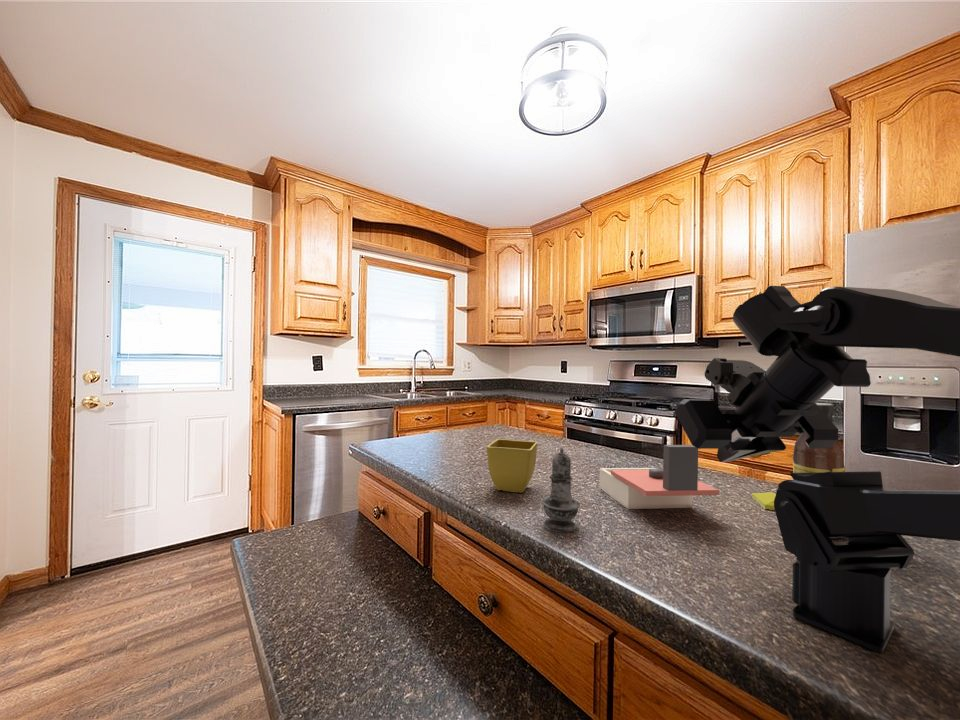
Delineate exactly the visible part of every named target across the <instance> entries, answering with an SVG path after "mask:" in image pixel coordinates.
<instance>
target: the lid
mask: <svg viewBox="0 0 960 720" xmlns="http://www.w3.org/2000/svg"><path fill="white" fill-rule="evenodd" d="M662 459H663V465H662V469H661V468H660V469H659V468H656V469H649V470H611V475H612V476H614V477H616V478H617V479H619V480H621V481H622V482H624V483H626V484H627V485H629V486H630V487H632V488H634V489H635V490H637V491H639V492H640V493H642V494H643V495H645V496H687V495H692V496H720V489H718V488H715V487H713V486H711V485H709V484H706V483H704V482H702V481H700V480H699V479H698V478H699V477H698V476H699V449H698V448H696V447H695V446H693V445H692V444H663V458H662Z"/></svg>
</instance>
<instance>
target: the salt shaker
mask: <svg viewBox="0 0 960 720" xmlns="http://www.w3.org/2000/svg"><path fill="white" fill-rule="evenodd" d="M564 451H565V450H564V449H563V447H561V448H560V449H559V452H558V453H557V454H554V455H553V456H552V459H551V460H552V468H551V469H552V470H551V471H552V472H551V473H552V474H551V475H549V479H550V480H551V489H550V490H551V491H550V493H549V496H546V497H544V498H543V499H541V504H542V506H543V509H544V514H545V515H546V516H547V517H548V518H547V519H545V520H544V521H542V522H543V523H542V525H543V527H544V528H545V529H546V530H548V531H551V532H555V533H562V534H564V533H565V534H566V533H567V534H568V533H573V532H575V531H577V530H578V528H579V526H578V524H577V523H576V522H575V521H573V520H574V518H576V516H577V515H578V512H579V508H580V507H581V502H580V501H579V500H577V499H575V498H573V494H572V491H571V490H572V487H571V485H572V481H574V478H573V477H572V476H571V467H572V466H571V465H572V464H571V463H572V462H571V461H572V460H571V457H570V456H569V455H568V454H566V453H565V452H564Z"/></svg>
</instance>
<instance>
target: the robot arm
mask: <svg viewBox="0 0 960 720" xmlns="http://www.w3.org/2000/svg"><path fill="white" fill-rule="evenodd" d="M732 321H733V323H734V325H735V326H736V327H737V328H738V329H739V331H740V332H741V333H742V335H744V337H745V338H746V339H747V340H748V341H749V343H750V344H751V345H752V347H753V348H754V349H755V350H756V351H757V352H758V353H759V354H760V355H762V356H765V357H773V356H774V357H776V358H775V360H774V361H773V362H772V363H771V364H770V366H769V367H768V368H767V369H766V370H765V369H763V368H762V367H760V366H758V365H756V364H755V363H754V362H751V361H747V360H744V359H743V360H742V359H727V358H725V357H723V358H722V357H713V359H712V360H711V361H710V362H709V363H708V364H707V366H706V368H705V370H704V378H705V379H706V380H707V381H709V382H710V383H711V384H712V385H714V386H719V387H720V388H722V389H723V390H725V391H726V392H728V393H729V394H728V395H727V396H726V399H727V401H728V402H729V404H730V405H731V406H735V409H720V408H719V406H718V405H717V403H716V402H715V400H712V399H698V398H696V399H686V398H685V399H682V400H681V402H680V403H679V404H678V406H677V407H676V409H674V414H675V416H676V417H677V419H678V422H679V423H680V425H681V427H682V429H683V431H684V433H685V435H686V436H687V438H688V440H689V443H690V445H693V446H695V447H696V448H698V450H701V449H704V450H705V449H707V450H708V449H710V450H712V449H717V453H716V457H717V459H718V461H719V462H720V463H729V462H732V461H733V462H734V461H736V460H741V459H746V458H751V457H755V456H760V455H764V454H766V455H767V454H770V453H774V452H776V453H777V452H784V451H785V450H786V449H787V446H786V444H785V443H784V442H783V440H782V439H781V438H785V437H786V438H787V437H788V438H789V437H790V438H791V437H793V436H794V435H800V434H802V433H803V432H804V431H803V430H802V429H805V431H806V432H807V433H808V434H809V436H810V437H809V438H808V439H807V440H806V441H805V442H806V444H807V446H808V447H809V448H829V447H830V446H831V445H832V444H834V443H835V442H836V441H839V429H838V427H837V426H836V425H835V424H834V423H833V421H832V422H831V420H830V419H829V418H828V417H827V416H826V415H825V413H824V412H823V411H822V410H821V409H820V408H819V406H818V405H817V404H816V403H818V402H819V401H820V400H821V398H823V397H824V396H825V395H826V394H827V393H828V392H830V390H831V389H833V387H835V386H836V387H840V388H841V387H844V388H845V387H846V388H847V387H848V388H849V387H851V388H852V387H853V388H858V387H859V388H868V387H870V386H871V384H872V382H871V376H870V373H869V371H868V369H867V365H868V360H867V359H865V358H864V359H863V358H853V357H851V356H850V354H849V353H848V352H846V351H845V350H844V349H843V348H870V349H871V348H873V349H902V350H903V349H904V350H905V349H906V350H907V349H908V350H909V349H910V350H911V349H912V350H921V351H925V352H932V353H937V354H943V355H949V356H954V357H960V306H957V305H954V304H948V303H945V302H942V301H938V300H936V299H933V298H930V297H926V296H921V295H917V294H913V293H908V292H904V291H901V290H897V289H890V288H889V289H887V288H886V289H885V288H872V287H871V288H870V287H869V288H868V287H853V286H852V287H851V286H828V287H825V288H823V289H821V290H820V291H819V293H818V294H817V295H815V296H814V297H813V299H812V300H811V301H807V302H803V303H800V302H799V301H798V300H797V299H796V298H795V297H794V295H793V294H792V293H791V291H790V290H789V289H788V288H787V287H786V286H783V285H768V287H766V288H765V290H764V292H761V293H758V294H756V295H754V296H751V297H749V298H748V299H747V300H745V301H744V302H743V303H742V304H739V305H737V307H736V308H735V310H734V312H733V315H732ZM842 347H843V348H842ZM789 475H790V477H791V478H792V479H786V480H785V479H784V480H783V481H781V482H779V483H778V485H777V487H778V488H777V490H776V492H775V494H776V496H775V499H774V508H775V511H774V512H775V516H776V519H777V523H778V528H779V530H780V535H781V538H782V542H783V543H782V544H783V547H784V549H785V551H786V552H789V554H792V555H794V557H796V560H795V561H794V562H793V564H792V581H791V582H792V583H791V584H792V585H791V586H792V587H791V588H792V589H791V591H792V594H791V595H792V596H791V600H792V602H793V604H796V606H795V607H794V608H793V609H792V616H793V617H794V618H796V619H798V620H800V621H803V622H806V623H808V624H810V625H812V626H815V627H817V628H819V629H822V630H824V631H826V632H829V633H831V634H835V635H836V636H839V637H841V638H843V639H846V640H848V641H850V642H853V643H855V644H858V645H860V646H862V647H865V648H867V649H870V650H872V651H873V652H874V651H875V652H878V653H883V652H884V651H885V649H886V646H887V644H888V642H889V640H890V638H891V636H892V635H893V632H894V631H895V622H894V621H892V620H891V575H892V574H891V569H900V570H902V569H903V570H906V569H908V567H909V565H910V563H911V561H912V559H913V558H914V555H915V551H914V549H913V547H912V546H911V545H910V544H909V543H908V541H907V540H906V539H905V538H904V537H903V536H906V537H907V536H908V537H917V538H924V539H925V538H926V539H927V538H928V539H936V540H937V539H938V540H944V541H945V540H946V541H947V540H948V541H957V542H960V490H958V489H957V490H955V489H954V490H951V489H950V490H942V489H941V490H940V489H939V490H938V489H937V490H934V489H932V490H926V489H925V490H924V489H922V490H919V489H917V490H915V489H911V490H910V489H905V490H903V489H897V488H893V487H890V486H887V485H883V479H882V478H883V477H882V472H881V471H880V470H879V471H878V470H877V471H875V470H873V471H870V470H868V471H865V470H864V471H863V470H862V471H861V470H860V471H845V472H820V473H793V472H790V473H789ZM793 479H794V480H793ZM842 538H843V539H846V538H847V539H848V541H833V540H832V539H842Z"/></svg>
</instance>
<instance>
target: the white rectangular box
mask: <svg viewBox="0 0 960 720" xmlns="http://www.w3.org/2000/svg"><path fill="white" fill-rule="evenodd" d="M649 469H657V468H656V467H613V468H612V467H608V468H607V467H605V468H604V467H602V468H601V467H600V468H599V478H598V479H599V480H598V481H599V485H598V486H599V487H598V488H599V489H600V490H601V489H602V490H601V491H603V492H604V493H605V494H607V495H608V496H609V497H611V498H612V499H614V500H615V502H617V503H619V504H620V505H622V506H623V507H625V508H626V509H628V510H644V509H646V510H647V509H648V510H650V509H654V510H655V509H692V507H693V495H687V496H645V495H643V494H642V493H640V492H639V491H637V490H635V489H634V488H632V487H630V486H629V485H627V484H626V483H624V482H622V481H621V480H619V479H617V478H616V477H614V476H612V475H611V470H649Z"/></svg>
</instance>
